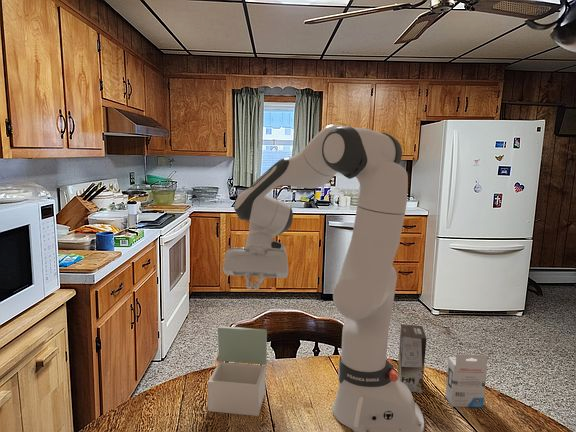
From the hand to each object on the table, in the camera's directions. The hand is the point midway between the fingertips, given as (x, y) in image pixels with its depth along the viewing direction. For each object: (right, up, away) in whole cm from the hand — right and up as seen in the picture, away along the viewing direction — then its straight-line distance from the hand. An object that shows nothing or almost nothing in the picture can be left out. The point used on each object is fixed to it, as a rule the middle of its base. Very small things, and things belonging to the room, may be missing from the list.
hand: (252, 288), depth 119 cm
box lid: (-2, -14, -11) cm, 18 cm away
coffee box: (+46, -27, -3) cm, 54 cm away
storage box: (-3, -28, -14) cm, 31 cm away
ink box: (+58, -29, -11) cm, 66 cm away
